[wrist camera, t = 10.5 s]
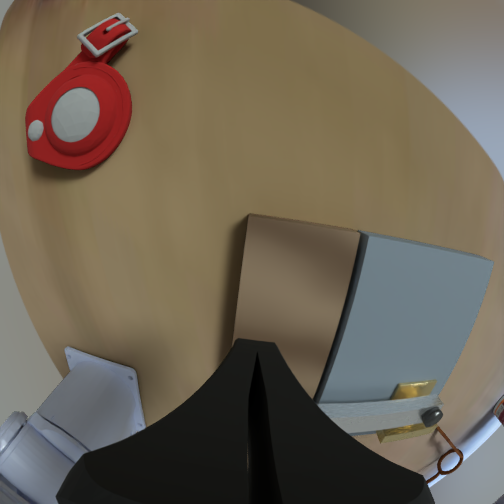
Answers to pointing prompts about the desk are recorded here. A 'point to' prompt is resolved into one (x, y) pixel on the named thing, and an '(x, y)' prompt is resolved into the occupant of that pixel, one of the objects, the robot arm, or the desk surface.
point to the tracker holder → (83, 103)
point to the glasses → (445, 456)
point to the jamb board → (295, 289)
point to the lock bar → (385, 413)
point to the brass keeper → (416, 429)
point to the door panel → (402, 319)
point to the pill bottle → (499, 410)
